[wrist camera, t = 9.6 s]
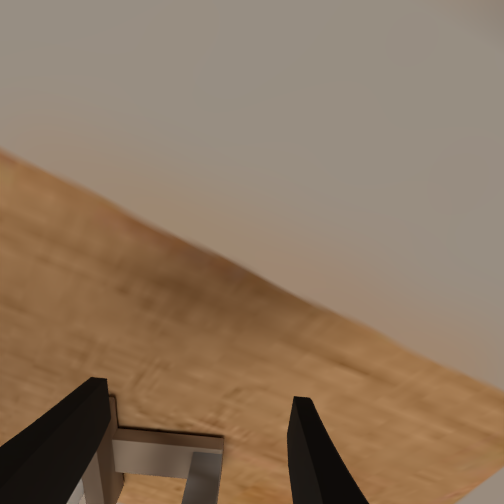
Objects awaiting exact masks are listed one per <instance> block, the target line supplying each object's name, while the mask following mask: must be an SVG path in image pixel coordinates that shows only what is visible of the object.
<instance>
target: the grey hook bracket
mask: <svg viewBox="0 0 504 504" xmlns="http://www.w3.org/2000/svg"><path fill="white" fill-rule="evenodd" d="M109 402H110V411H111V420H110V422H109V425H108V427H107V429H106V432H105V434H104V436H103V438H102V441H101V443H100V445H99V447H98V449H97V451H96V453H95V455H94V456H93V458H92V460H91V462H90V463H89V465H88V467H87V469H86V471H85V472H84V474H83V476H82V482H83V488H84V493H85V499H86V504H116V503H117V500H118V498H119V496H120V493H121V491H122V488H123V486H124V483H123V474H122V473H132V474H142V475H153V476H163V477H174V478H184V479H187V482H186V486H185V491H184V495H183V499H182V504H217V501H218V493H219V486H220V479H221V471H222V459H223V445H224V438H214V437H204V436H193V435H183V434H172V433H161V432H151V431H140V430H130V429H119V428H118V427H117V418H116V408H115V399H114V397H109Z"/></svg>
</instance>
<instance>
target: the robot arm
mask: <svg viewBox="0 0 504 504" xmlns="http://www.w3.org/2000/svg"><path fill="white" fill-rule="evenodd" d="M110 420H111V411H110V402H109V394H108V385H107V379H105V378H95V377H91V378H89V379H88V380H87V381H86V382H84V383H83V384H82V385H80V386H79V387H78V388H77V389H75V390H74V391H73V392H72V393H70V394H69V395H68V396H67V397H65V398H64V399H63V400H62V401H60V402H59V403H58V404H56V405H55V406H54V407H53V408H51V409H50V410H49V411H48V412H46V413H45V414H44V415H42V416H41V417H40V418H38V419H37V420H36V421H35V422H33V423H32V424H31V425H29V426H28V427H27V428H25V429H24V430H23V431H21V432H20V433H19V434H17V435H16V436H15V437H13V438H12V439H10V440H9V441H8V442H6V443H5V444H3V445H2V446H1V447H0V504H67V502H68V500H69V499H70V497H71V495H72V493H73V492H74V490H75V488H76V486H77V485H78V483H79V481H80V479H81V478H82V476H83V474H84V472H85V471H86V469H87V467H88V465H89V463H90V462H91V460H92V458H93V456H94V455H95V453H96V451H97V449H98V447H99V445H100V443H101V441H102V438H103V436H104V434H105V432H106V429H107V427H108V425H109V422H110ZM287 448H288V467H289V475H290V483H291V490H292V498H293V504H369V503H368V501H367V500H366V498H365V497H364V495H363V494H362V492H361V490H360V489H359V487H358V486H357V484H356V482H355V481H354V479H353V478H352V476H351V474H350V473H349V471H348V469H347V468H346V466H345V464H344V462H343V461H342V459H341V457H340V455H339V453H338V452H337V450H336V448H335V446H334V444H333V443H332V441H331V439H330V437H329V435H328V433H327V431H326V429H325V427H324V425H323V423H322V421H321V419H320V417H319V415H318V413H317V410H316V408H315V406H314V404H313V401H312V400H311V399H310V398H307V397H297V396H294V398H293V404H292V410H291V415H290V421H289V426H288V432H287Z"/></svg>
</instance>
